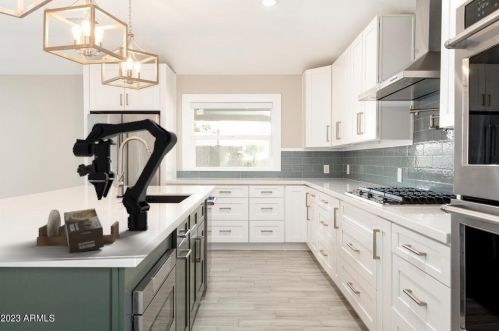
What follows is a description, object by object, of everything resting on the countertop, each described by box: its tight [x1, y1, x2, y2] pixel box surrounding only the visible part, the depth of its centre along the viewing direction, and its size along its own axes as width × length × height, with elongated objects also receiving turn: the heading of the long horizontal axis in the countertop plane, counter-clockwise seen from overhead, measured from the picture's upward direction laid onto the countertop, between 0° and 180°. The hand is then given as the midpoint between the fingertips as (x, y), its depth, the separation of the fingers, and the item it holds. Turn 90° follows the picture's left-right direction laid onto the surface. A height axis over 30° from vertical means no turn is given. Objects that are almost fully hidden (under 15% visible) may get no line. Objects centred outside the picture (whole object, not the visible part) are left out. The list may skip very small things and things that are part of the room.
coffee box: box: [63, 207, 105, 254], centre depth 107 cm, size 9×6×16 cm
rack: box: [36, 209, 120, 247], centre depth 114 cm, size 22×10×10 cm, turn 101°
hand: (102, 198), depth 136 cm, fingers open, 9 cm apart
